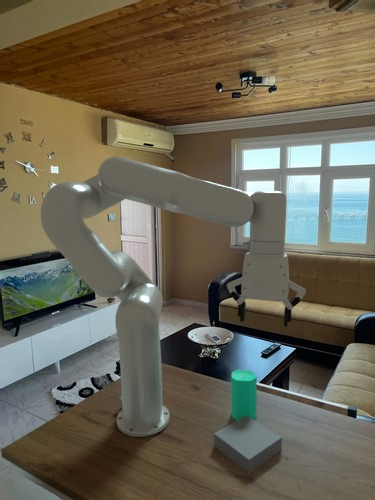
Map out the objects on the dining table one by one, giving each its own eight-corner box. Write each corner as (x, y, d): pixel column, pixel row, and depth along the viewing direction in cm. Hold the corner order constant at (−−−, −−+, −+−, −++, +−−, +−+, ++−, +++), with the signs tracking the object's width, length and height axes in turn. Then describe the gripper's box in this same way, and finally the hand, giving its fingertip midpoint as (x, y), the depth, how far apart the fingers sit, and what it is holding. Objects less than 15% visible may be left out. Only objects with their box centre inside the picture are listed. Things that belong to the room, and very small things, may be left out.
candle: (256, 423, 84) (256, 376, 83) (230, 421, 86) (230, 374, 84) (256, 409, 90) (256, 364, 88) (232, 406, 91) (232, 362, 90)
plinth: (214, 446, 77) (213, 433, 77) (246, 427, 83) (246, 415, 83) (249, 473, 69) (249, 459, 69) (281, 450, 76) (281, 437, 75)
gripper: (224, 248, 78) (223, 323, 81) (308, 252, 73) (303, 332, 76) (231, 243, 85) (229, 313, 88) (308, 247, 80) (303, 321, 83)
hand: (263, 322), depth 82 cm, fingers open, 9 cm apart
